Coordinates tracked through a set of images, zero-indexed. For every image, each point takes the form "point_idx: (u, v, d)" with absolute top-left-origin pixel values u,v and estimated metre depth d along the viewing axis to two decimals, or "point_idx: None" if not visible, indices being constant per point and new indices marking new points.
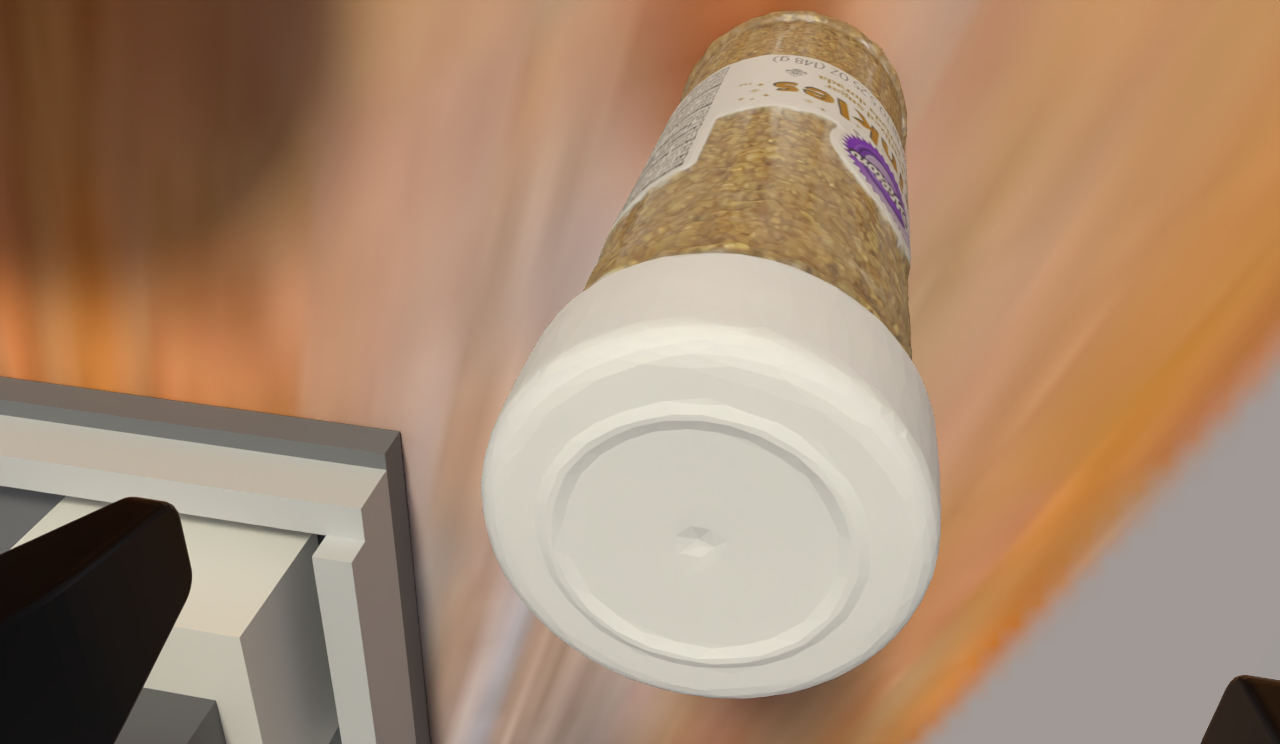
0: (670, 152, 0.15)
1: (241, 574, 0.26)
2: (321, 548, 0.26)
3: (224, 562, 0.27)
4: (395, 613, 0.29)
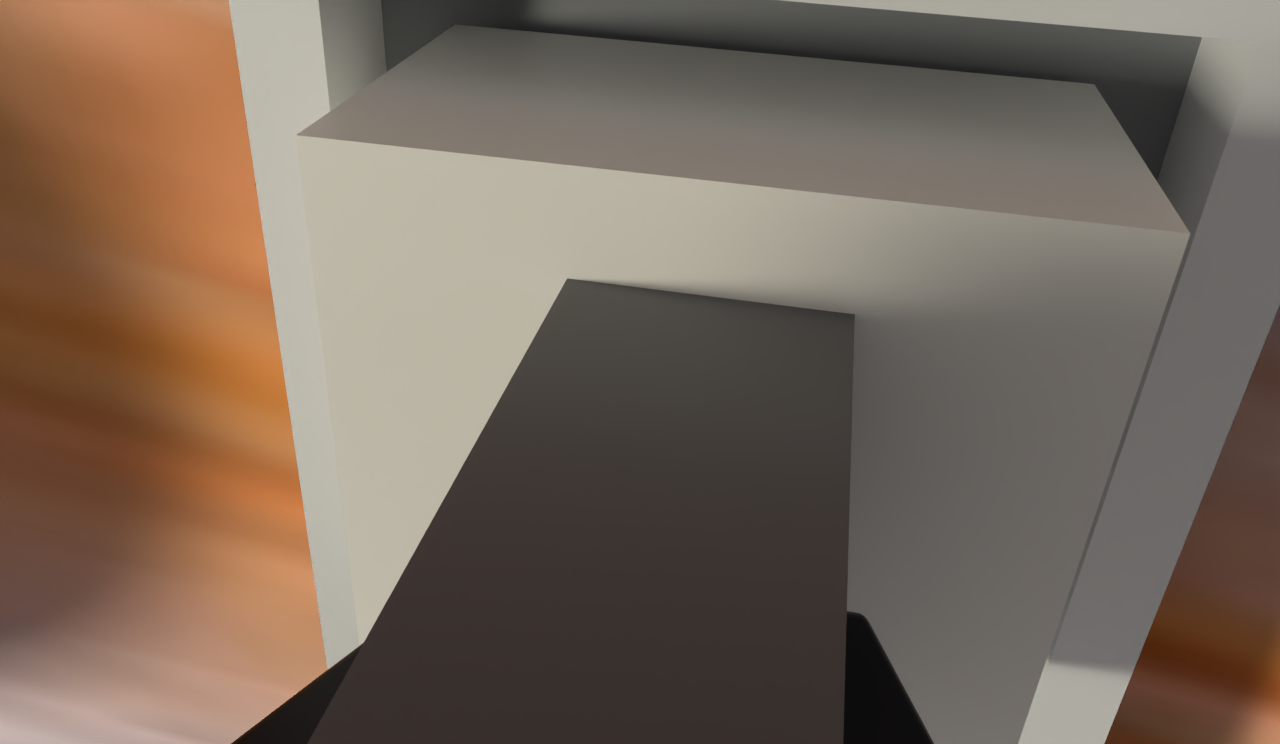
0: None
1: None
2: None
3: None
4: None
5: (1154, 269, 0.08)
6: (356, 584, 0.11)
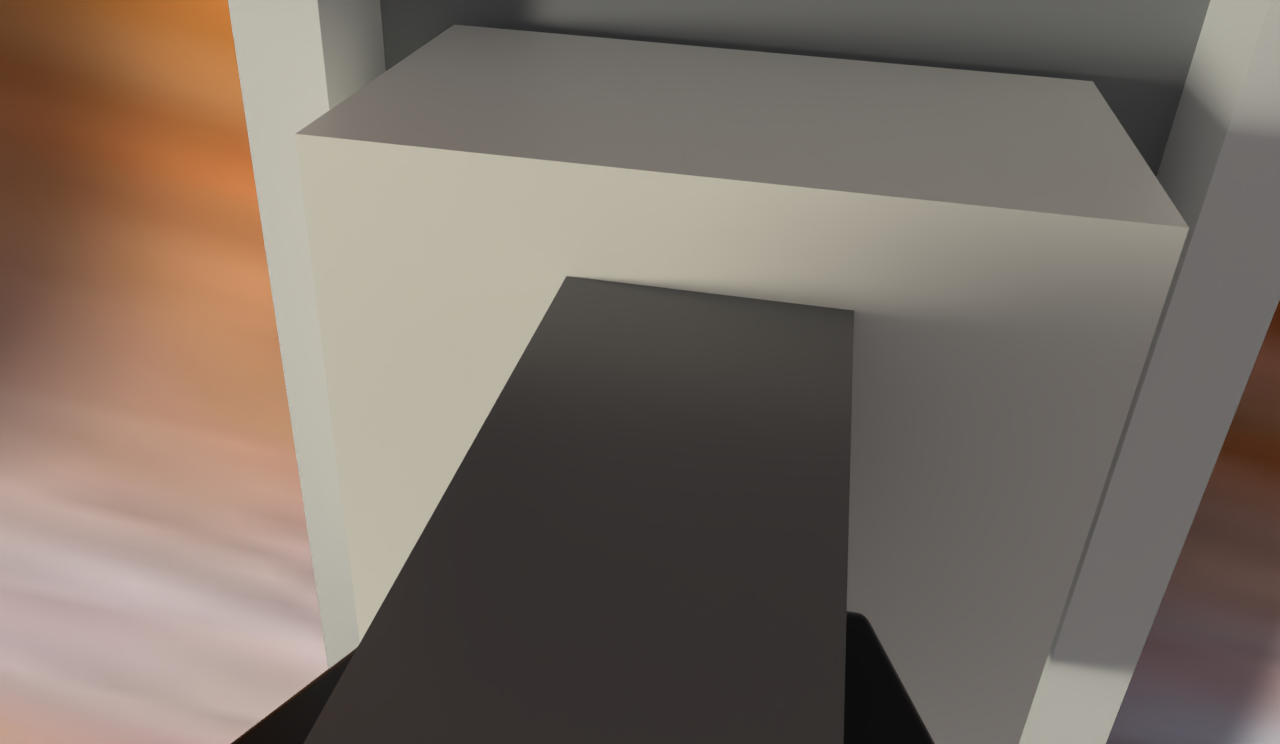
0: None
1: None
2: None
3: None
4: None
5: (1153, 264, 0.08)
6: (356, 584, 0.11)
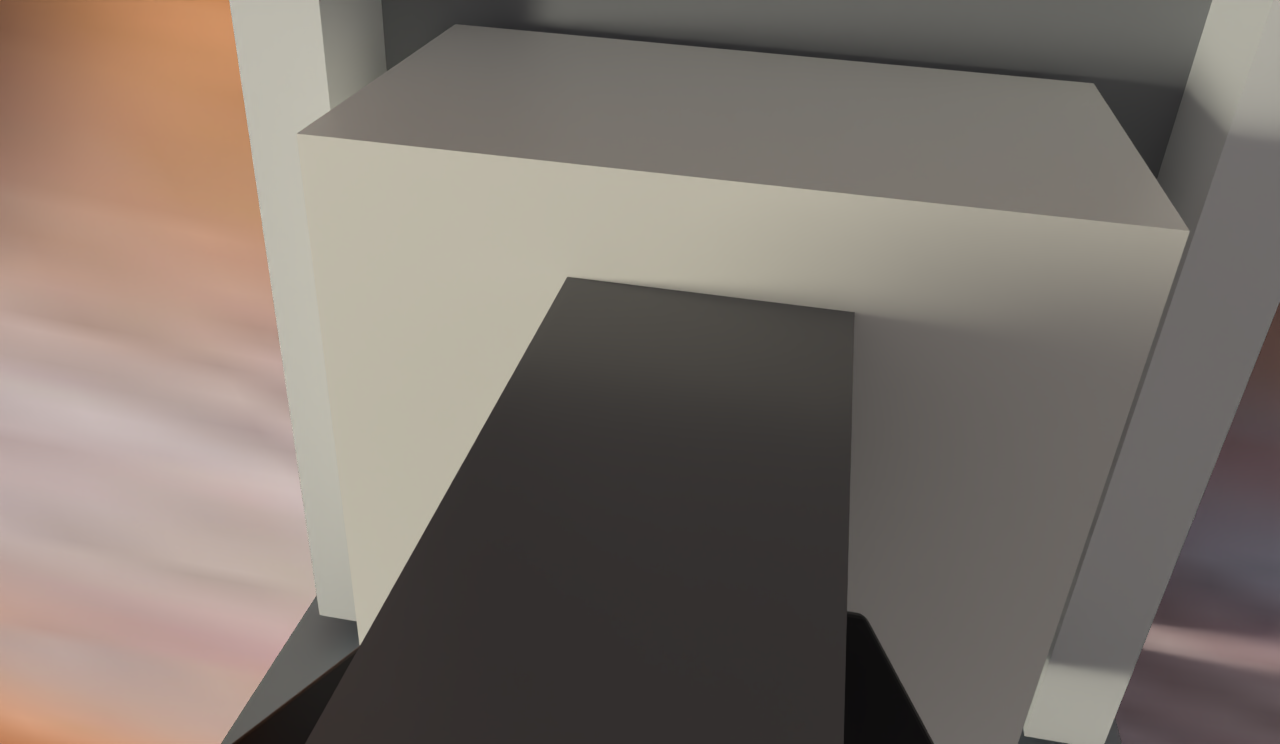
0: None
1: None
2: None
3: None
4: None
5: (1154, 267, 0.08)
6: (356, 583, 0.11)
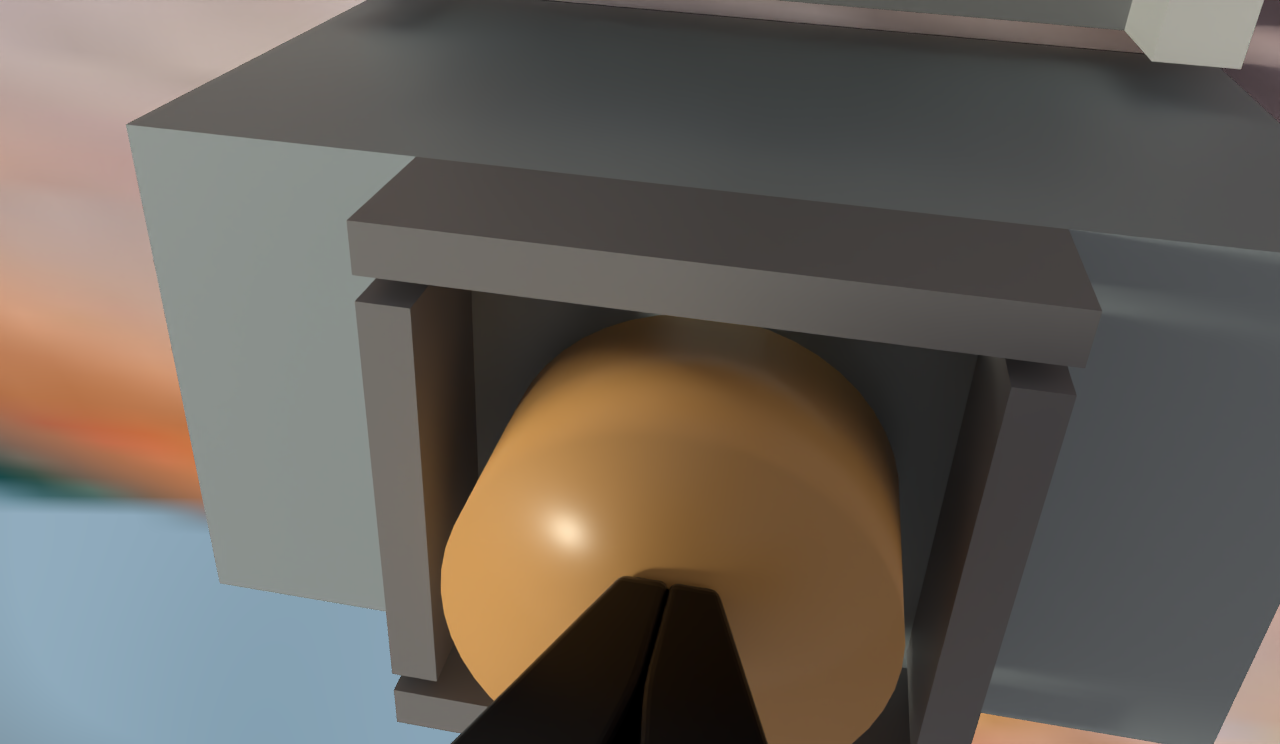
0: None
1: None
2: None
3: None
4: None
5: None
6: None
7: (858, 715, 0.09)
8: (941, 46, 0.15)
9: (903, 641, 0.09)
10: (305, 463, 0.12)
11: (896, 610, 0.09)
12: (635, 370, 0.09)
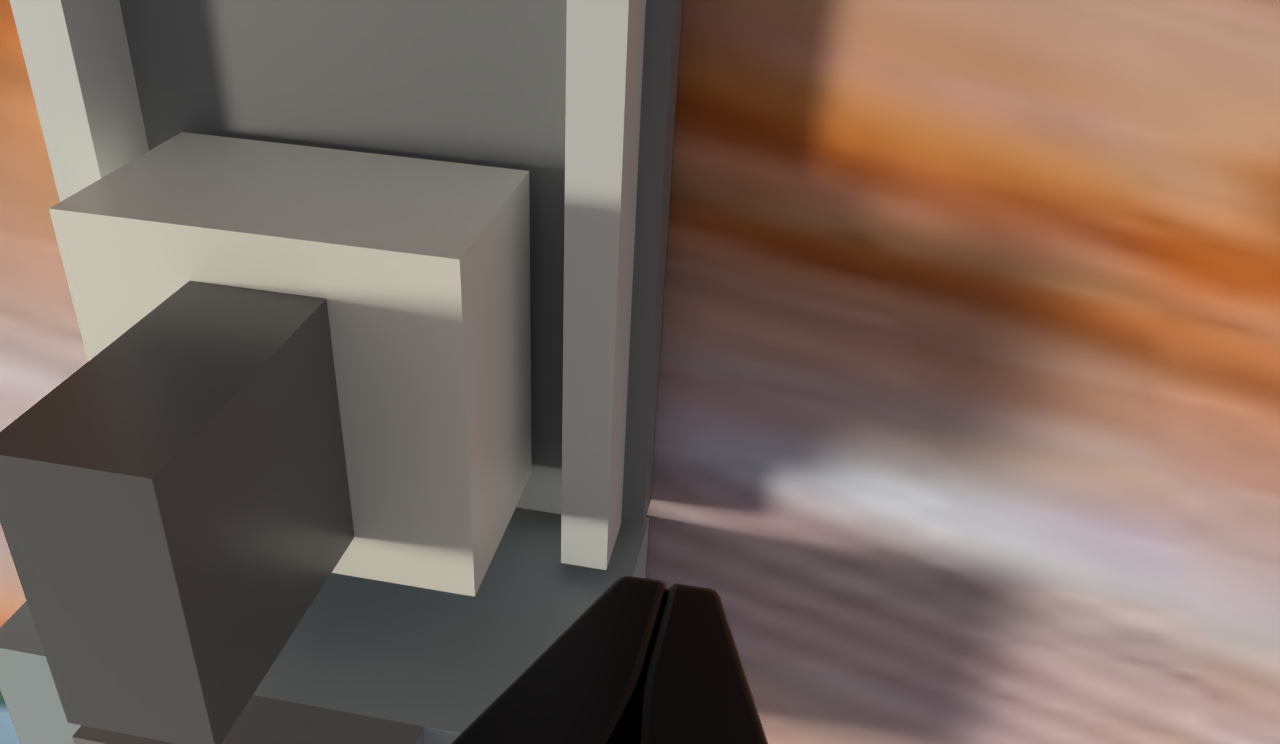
0: None
1: None
2: None
3: None
4: None
5: (450, 276, 0.17)
6: None
7: None
8: None
9: None
10: None
11: None
12: None
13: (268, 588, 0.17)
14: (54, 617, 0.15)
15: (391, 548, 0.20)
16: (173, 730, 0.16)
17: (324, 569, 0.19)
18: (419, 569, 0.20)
